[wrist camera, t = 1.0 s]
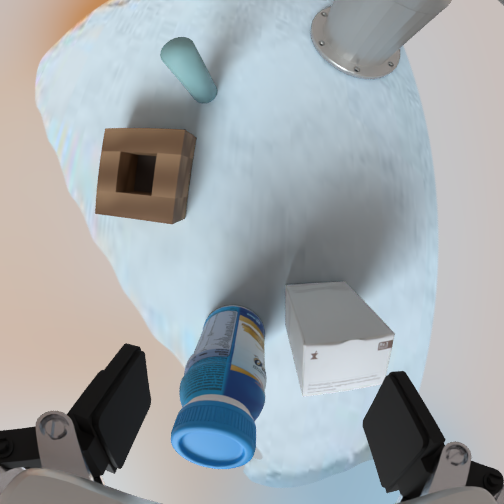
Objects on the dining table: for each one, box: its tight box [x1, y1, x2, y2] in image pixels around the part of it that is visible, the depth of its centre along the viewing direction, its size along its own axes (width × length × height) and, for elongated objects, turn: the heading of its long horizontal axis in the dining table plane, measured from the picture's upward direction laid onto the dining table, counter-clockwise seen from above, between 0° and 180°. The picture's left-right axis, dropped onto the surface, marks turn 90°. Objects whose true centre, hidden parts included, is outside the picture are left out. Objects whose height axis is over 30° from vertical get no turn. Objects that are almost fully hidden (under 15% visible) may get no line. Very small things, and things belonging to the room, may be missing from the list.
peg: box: [160, 37, 217, 103], centre depth 23 cm, size 3×3×12 cm
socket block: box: [95, 128, 196, 224], centre depth 29 cm, size 10×10×5 cm
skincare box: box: [285, 281, 395, 397], centre depth 27 cm, size 8×6×15 cm
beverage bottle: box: [171, 305, 266, 469], centre depth 26 cm, size 8×8×20 cm
